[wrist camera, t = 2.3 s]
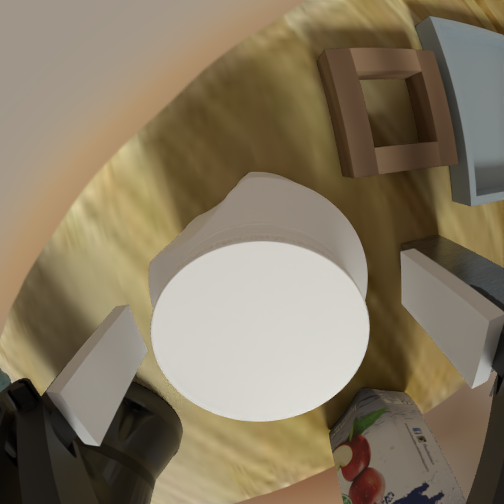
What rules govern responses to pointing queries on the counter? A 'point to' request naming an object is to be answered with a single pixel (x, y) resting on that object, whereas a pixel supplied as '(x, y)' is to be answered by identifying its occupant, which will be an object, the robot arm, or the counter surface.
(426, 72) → the hollow square tube
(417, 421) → the juice carton
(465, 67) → the tray
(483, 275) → the grey block
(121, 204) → the counter surface
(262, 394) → the jar
